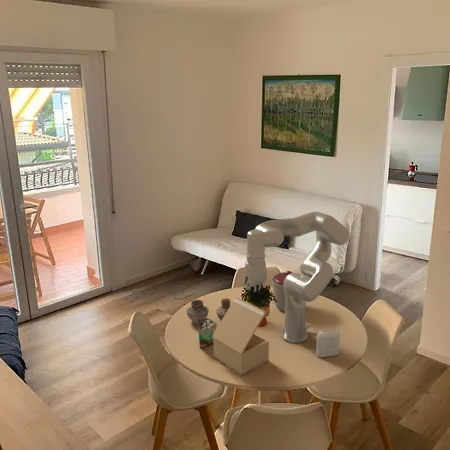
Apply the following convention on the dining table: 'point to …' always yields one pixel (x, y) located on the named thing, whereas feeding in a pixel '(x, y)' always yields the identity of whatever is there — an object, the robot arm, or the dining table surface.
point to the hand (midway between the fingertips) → (255, 298)
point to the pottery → (206, 310)
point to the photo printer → (328, 343)
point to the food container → (206, 333)
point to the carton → (243, 355)
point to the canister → (280, 289)
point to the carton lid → (239, 325)
